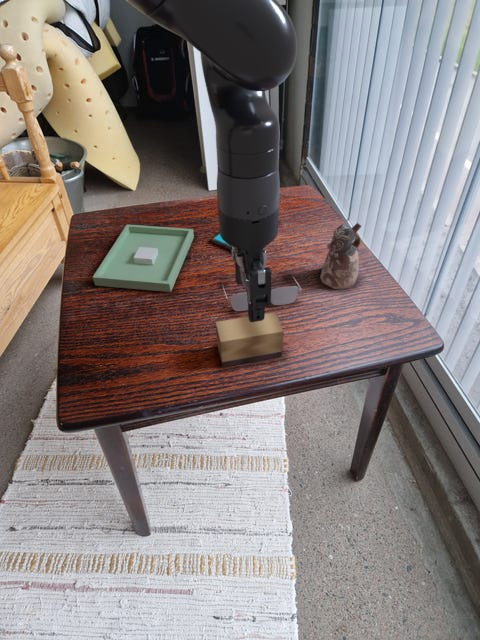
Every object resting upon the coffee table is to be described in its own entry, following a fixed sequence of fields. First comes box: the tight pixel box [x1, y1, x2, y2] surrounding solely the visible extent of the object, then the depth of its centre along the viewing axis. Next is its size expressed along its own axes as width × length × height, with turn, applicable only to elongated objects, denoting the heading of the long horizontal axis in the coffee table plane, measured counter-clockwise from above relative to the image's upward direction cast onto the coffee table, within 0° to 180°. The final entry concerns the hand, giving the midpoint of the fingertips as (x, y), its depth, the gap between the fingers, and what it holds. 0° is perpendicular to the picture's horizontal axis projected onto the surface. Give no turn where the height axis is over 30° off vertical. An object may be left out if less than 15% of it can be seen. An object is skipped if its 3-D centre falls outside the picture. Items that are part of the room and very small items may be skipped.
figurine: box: [319, 222, 362, 290], centre depth 80 cm, size 7×7×12 cm
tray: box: [92, 224, 195, 293], centre depth 89 cm, size 16×20×2 cm
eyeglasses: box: [221, 273, 302, 312], centre depth 80 cm, size 14×8×4 cm, turn 102°
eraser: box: [215, 311, 284, 368], centre depth 68 cm, size 10×4×6 cm, turn 102°
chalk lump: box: [133, 247, 158, 265], centre depth 88 cm, size 4×4×2 cm
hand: (249, 300), depth 63 cm, fingers open, 8 cm apart
